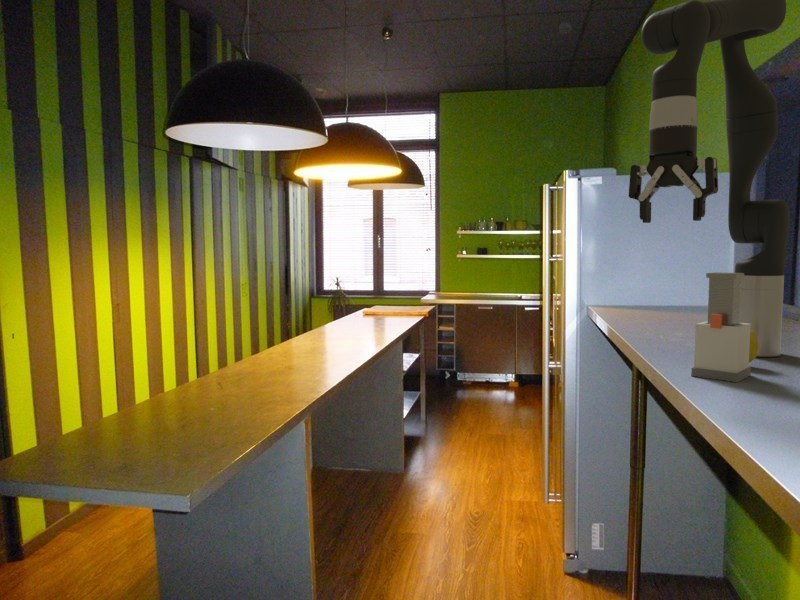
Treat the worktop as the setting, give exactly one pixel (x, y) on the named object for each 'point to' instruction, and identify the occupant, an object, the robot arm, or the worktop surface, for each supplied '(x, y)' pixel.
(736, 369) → the stand
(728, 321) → the column
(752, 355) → the lemon
